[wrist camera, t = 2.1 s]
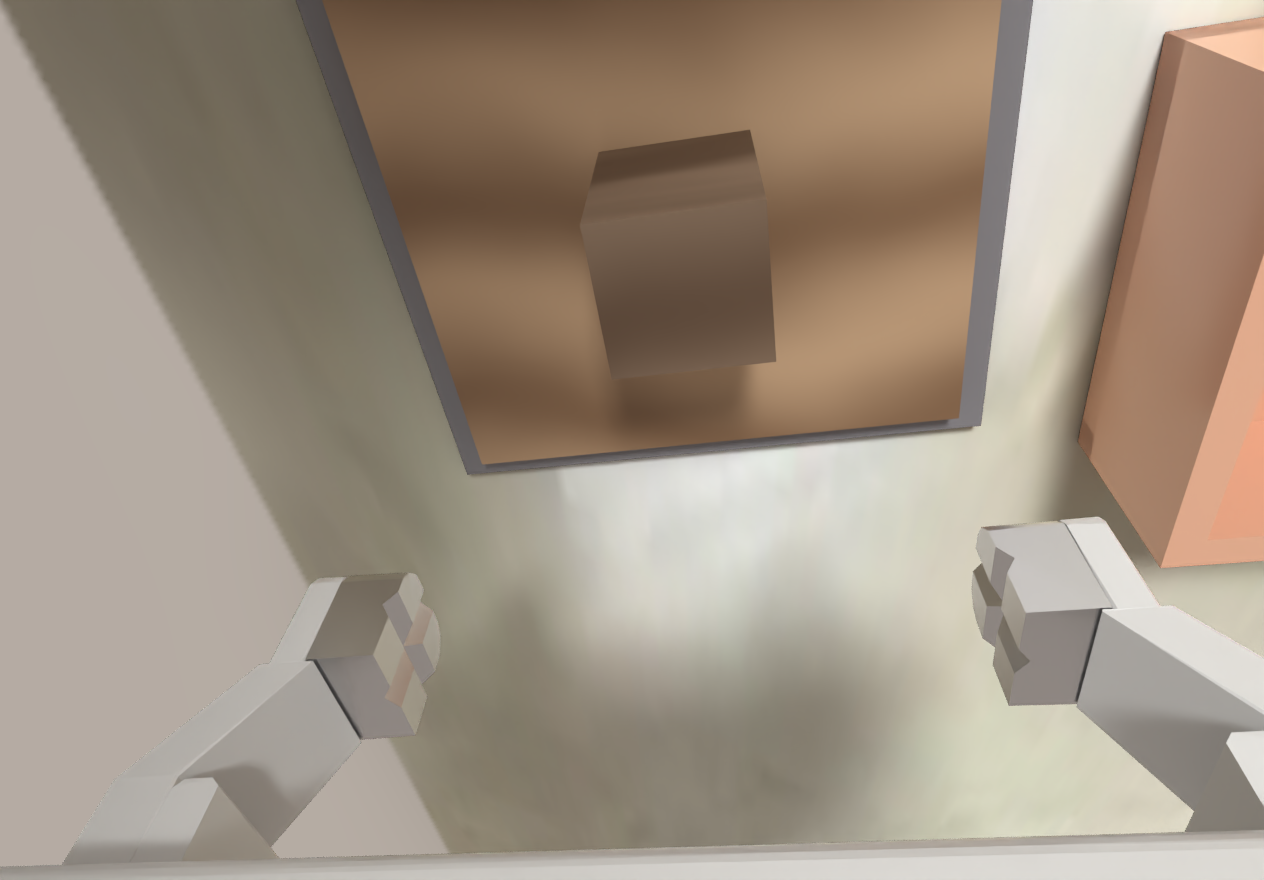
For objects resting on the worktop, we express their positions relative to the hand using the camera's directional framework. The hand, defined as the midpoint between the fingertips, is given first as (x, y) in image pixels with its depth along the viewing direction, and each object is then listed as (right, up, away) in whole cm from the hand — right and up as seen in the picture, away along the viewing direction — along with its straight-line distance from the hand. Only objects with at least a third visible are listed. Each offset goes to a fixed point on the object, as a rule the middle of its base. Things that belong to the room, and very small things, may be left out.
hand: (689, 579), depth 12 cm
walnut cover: (+1, +9, +11) cm, 14 cm away
